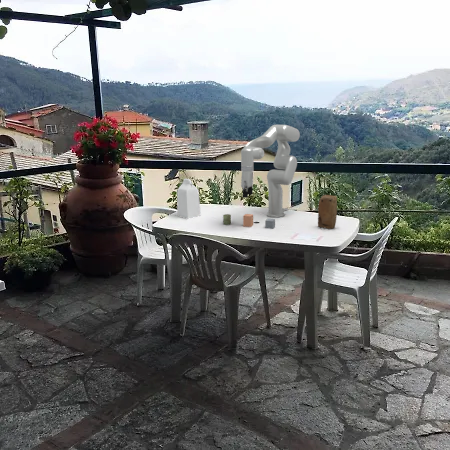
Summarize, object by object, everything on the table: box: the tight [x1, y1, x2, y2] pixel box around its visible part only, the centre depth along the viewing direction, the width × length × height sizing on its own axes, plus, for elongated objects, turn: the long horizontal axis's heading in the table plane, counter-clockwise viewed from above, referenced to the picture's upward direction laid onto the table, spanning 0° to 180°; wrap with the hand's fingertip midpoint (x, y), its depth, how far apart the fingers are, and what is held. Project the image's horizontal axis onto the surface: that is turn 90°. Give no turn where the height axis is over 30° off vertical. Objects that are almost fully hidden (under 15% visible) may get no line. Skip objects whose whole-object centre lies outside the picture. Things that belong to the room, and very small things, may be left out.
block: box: [317, 194, 338, 230], centre depth 277 cm, size 11×8×20 cm
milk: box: [176, 178, 202, 220], centre depth 313 cm, size 12×12×26 cm
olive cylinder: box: [222, 213, 232, 226], centre depth 293 cm, size 5×5×6 cm
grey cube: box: [264, 218, 276, 230], centre depth 283 cm, size 5×5×5 cm
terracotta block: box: [242, 213, 254, 228], centre depth 287 cm, size 5×5×7 cm
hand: (247, 196), depth 283 cm, fingers open, 9 cm apart
